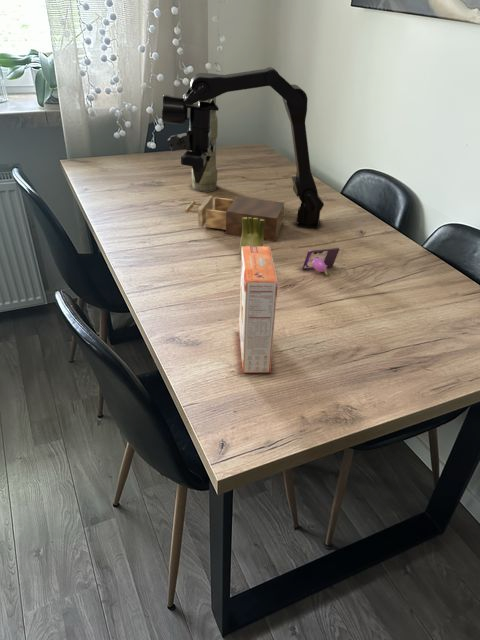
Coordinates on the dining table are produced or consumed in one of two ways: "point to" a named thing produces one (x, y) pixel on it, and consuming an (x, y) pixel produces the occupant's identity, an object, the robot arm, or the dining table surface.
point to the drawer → (211, 212)
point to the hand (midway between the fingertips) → (197, 182)
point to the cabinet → (255, 216)
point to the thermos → (210, 173)
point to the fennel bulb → (252, 233)
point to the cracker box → (257, 308)
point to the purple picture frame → (321, 263)
